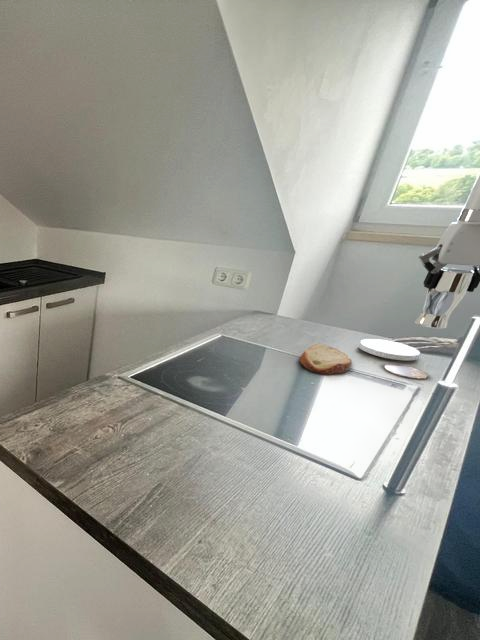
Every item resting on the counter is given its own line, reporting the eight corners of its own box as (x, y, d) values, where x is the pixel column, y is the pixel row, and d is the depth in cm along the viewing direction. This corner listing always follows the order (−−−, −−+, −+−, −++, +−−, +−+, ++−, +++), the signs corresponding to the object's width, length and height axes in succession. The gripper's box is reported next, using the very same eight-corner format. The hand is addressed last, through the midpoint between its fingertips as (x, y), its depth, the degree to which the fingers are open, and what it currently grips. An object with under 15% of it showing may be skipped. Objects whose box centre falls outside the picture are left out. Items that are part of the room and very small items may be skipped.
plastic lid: (425, 366, 115) (429, 359, 114) (365, 358, 120) (368, 351, 119) (405, 349, 126) (408, 342, 125) (351, 343, 132) (354, 336, 131)
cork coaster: (418, 368, 114) (419, 367, 113) (433, 381, 106) (434, 380, 106) (379, 363, 117) (379, 362, 117) (391, 375, 110) (391, 374, 110)
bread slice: (326, 349, 127) (330, 338, 125) (376, 374, 111) (381, 362, 109) (272, 350, 127) (275, 340, 125) (314, 375, 110) (319, 363, 109)
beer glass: (443, 323, 107) (470, 269, 101) (452, 331, 102) (481, 274, 95) (409, 319, 110) (433, 266, 104) (416, 326, 105) (442, 271, 99)
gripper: (522, 217, 94) (484, 289, 101) (427, 215, 101) (398, 283, 108) (545, 219, 88) (503, 296, 95) (441, 217, 95) (410, 289, 102)
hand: (447, 288), depth 102 cm, fingers closed on beer glass, 7 cm apart
